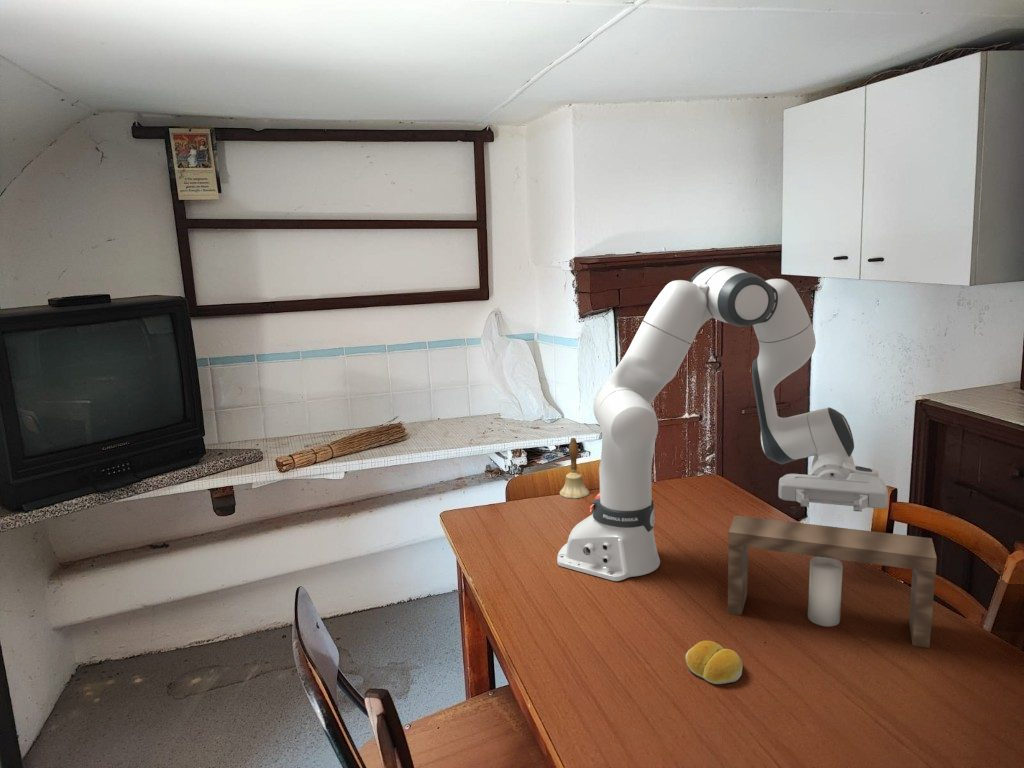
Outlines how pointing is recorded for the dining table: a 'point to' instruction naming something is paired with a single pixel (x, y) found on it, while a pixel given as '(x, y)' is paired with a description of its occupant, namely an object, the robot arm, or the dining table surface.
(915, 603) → the arch
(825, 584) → the white cylinder
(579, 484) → the hand bell
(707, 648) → the bread roll
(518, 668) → the dining table surface
